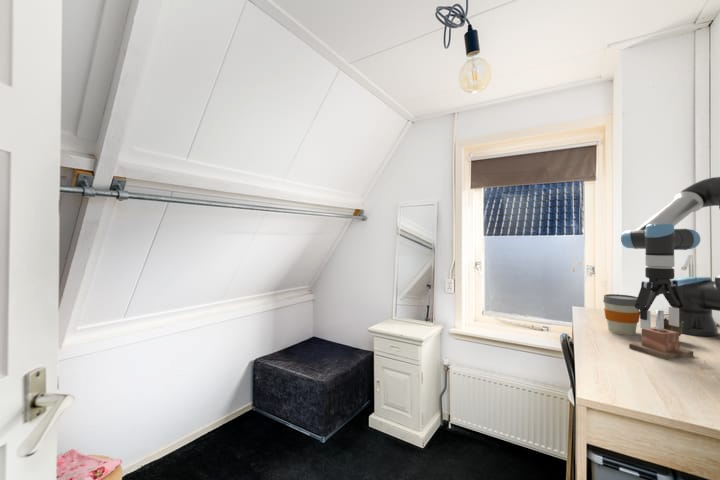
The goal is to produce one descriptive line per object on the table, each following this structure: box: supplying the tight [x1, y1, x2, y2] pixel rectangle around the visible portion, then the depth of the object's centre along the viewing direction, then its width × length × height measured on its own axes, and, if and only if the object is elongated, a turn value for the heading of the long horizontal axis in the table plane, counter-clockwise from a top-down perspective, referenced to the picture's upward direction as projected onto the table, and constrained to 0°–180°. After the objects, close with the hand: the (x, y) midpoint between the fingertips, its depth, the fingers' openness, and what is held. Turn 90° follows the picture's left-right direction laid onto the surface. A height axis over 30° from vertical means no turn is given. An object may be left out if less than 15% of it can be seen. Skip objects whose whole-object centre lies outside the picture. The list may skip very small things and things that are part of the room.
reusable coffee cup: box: [603, 293, 640, 336], centre depth 138 cm, size 13×13×15 cm
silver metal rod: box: [655, 309, 665, 332], centre depth 114 cm, size 2×2×13 cm
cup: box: [664, 317, 684, 337], centre depth 126 cm, size 8×7×8 cm
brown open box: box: [641, 326, 680, 352], centre depth 114 cm, size 7×7×6 cm
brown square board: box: [628, 341, 694, 361], centre depth 114 cm, size 12×12×2 cm
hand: (659, 327), depth 114 cm, fingers open, 13 cm apart
